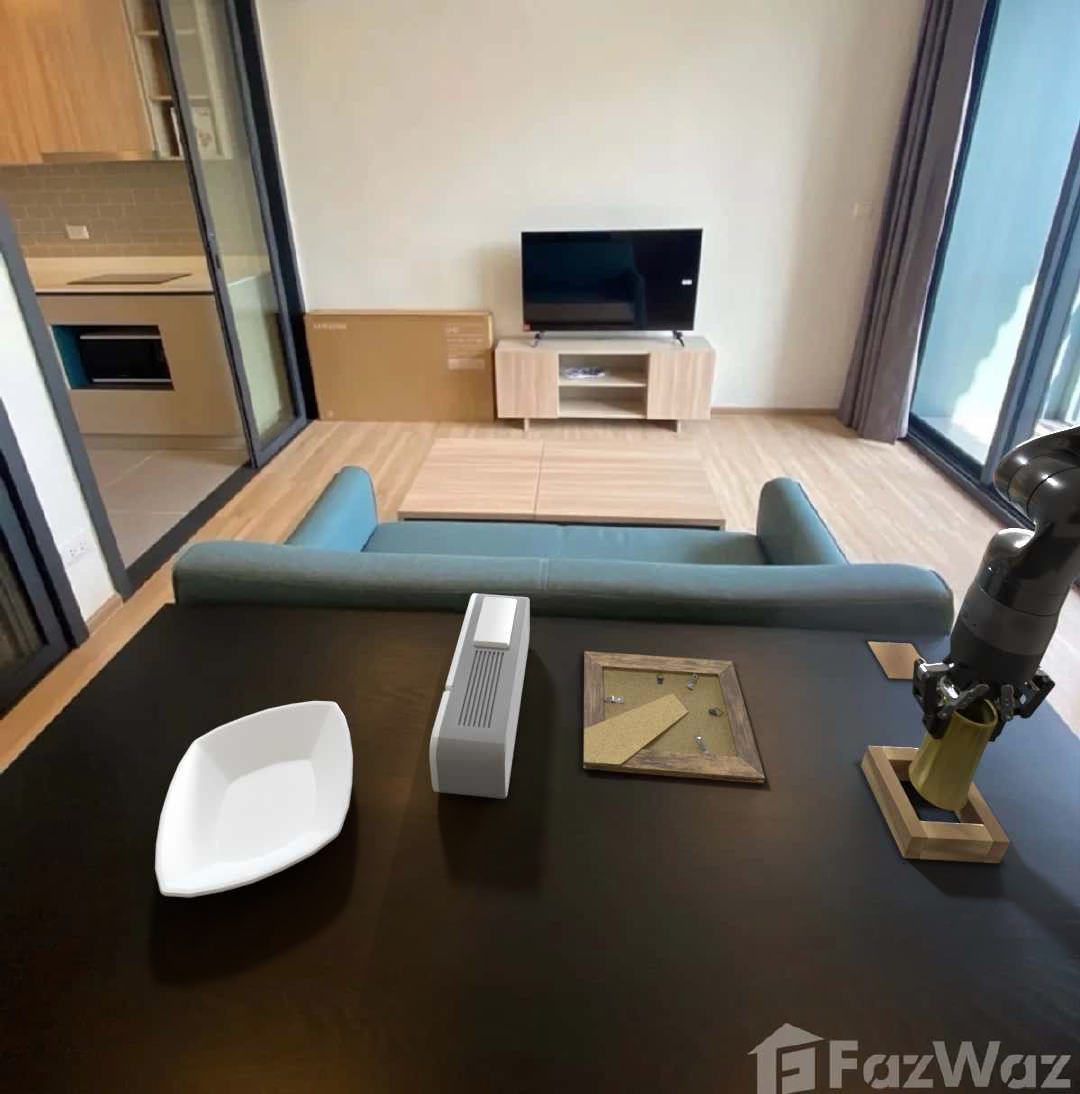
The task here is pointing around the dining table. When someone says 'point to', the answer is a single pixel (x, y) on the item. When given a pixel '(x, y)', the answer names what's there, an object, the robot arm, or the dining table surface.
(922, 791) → the vase
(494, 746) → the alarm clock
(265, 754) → the bowl
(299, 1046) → the dining table surface
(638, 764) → the picture frame
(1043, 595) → the robot arm
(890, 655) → the coaster
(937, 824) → the holder
